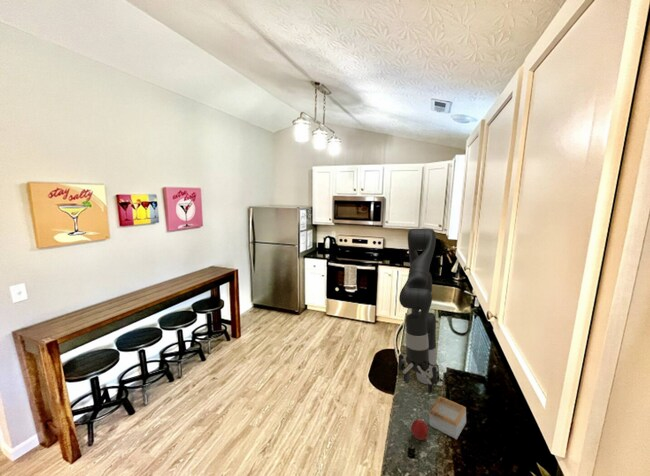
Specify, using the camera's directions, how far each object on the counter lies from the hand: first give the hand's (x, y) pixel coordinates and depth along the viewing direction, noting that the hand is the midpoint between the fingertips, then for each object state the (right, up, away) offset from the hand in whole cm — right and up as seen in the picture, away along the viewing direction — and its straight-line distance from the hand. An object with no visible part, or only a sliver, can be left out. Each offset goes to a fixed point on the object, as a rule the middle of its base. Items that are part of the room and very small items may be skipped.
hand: (418, 387), depth 97 cm
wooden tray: (+15, -18, +9) cm, 26 cm away
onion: (+1, -20, +3) cm, 21 cm away
